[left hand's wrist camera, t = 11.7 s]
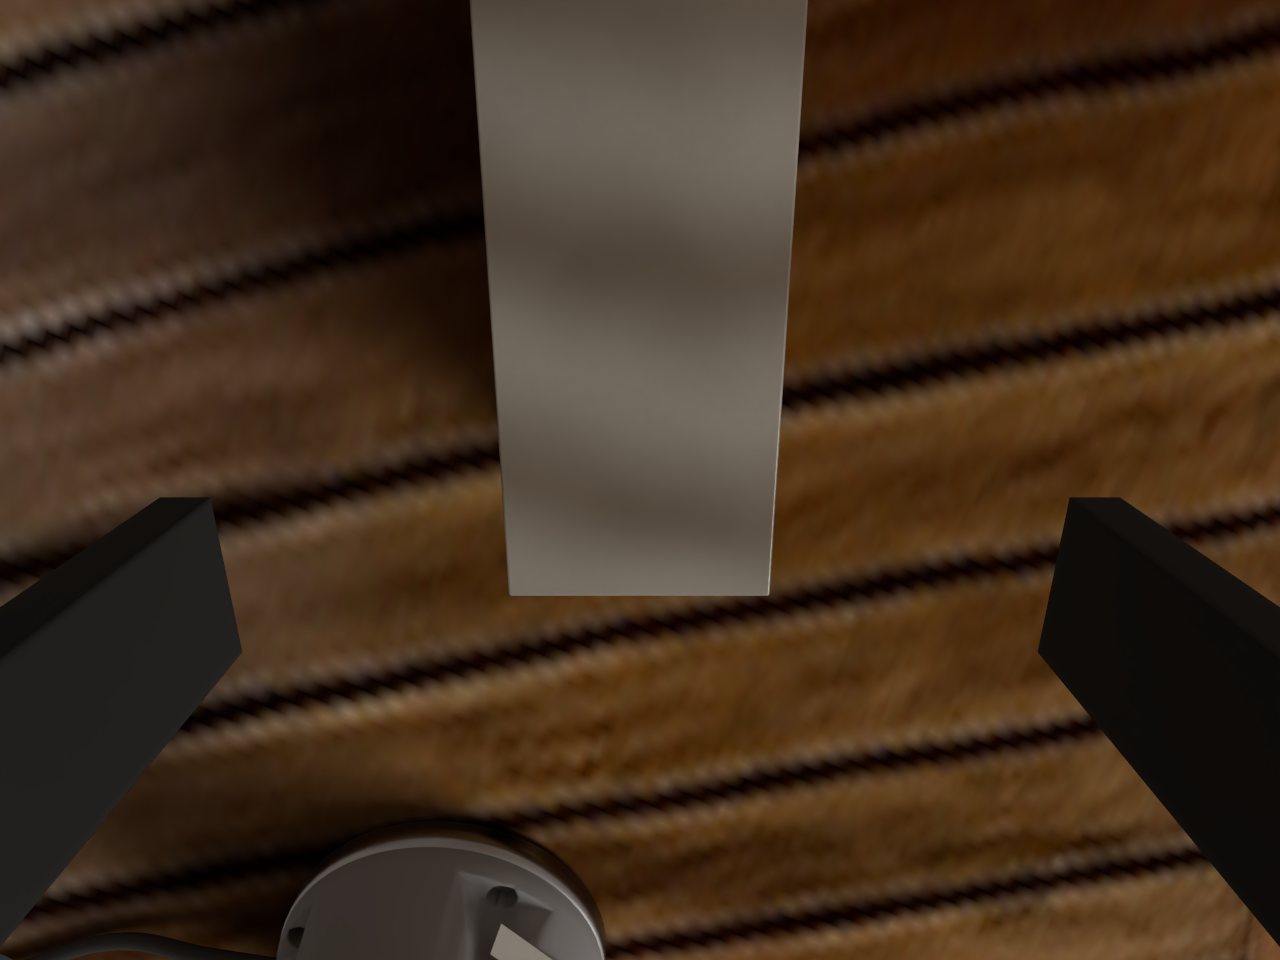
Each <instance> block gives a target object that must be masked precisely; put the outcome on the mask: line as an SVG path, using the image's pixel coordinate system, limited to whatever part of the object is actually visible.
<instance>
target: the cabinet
mask: <svg viewBox="0 0 1280 960" xmlns="http://www.w3.org/2000/svg"><path fill="white" fill-rule="evenodd" d="M807 7H808V0H470V15H471V30H472V45H473V61H474V76H475V91H476V106H477V121H478V136H479V151H480V166H481V181H482V196H483V211H484V227H485V242H486V257H487V272H488V287H489V302H490V317H491V332H492V347H493V362H494V377H495V393H496V408H497V423H498V438H499V453H500V468H501V483H502V498H503V513H504V528H505V543H506V559H507V574H508V589H509V595H511V596H767V595H769V593H770V578H771V563H772V547H773V532H774V517H775V501H776V486H777V470H778V455H779V439H780V424H781V409H782V393H783V378H784V362H785V347H786V331H787V316H788V300H789V285H790V270H791V254H792V239H793V223H794V208H795V192H796V177H797V162H798V146H799V131H800V115H801V100H802V84H803V69H804V54H805V38H806V23H807Z"/></svg>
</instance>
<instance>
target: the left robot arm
mask: <svg viewBox="0 0 1280 960" xmlns="http://www.w3.org/2000/svg"><path fill="white" fill-rule="evenodd" d="M241 653H242V649H241V644H240V639H239V634H238V629H237V624H236V620H235V615H234V610H233V605H232V600H231V595H230V591H229V586H228V581H227V576H226V571H225V566H224V562H223V557H222V552H221V547H220V542H219V537H218V533H217V528H216V523H215V518H214V513H213V508H212V504H211V499H210V498H159V499H157V500H156V501H154V502H153V503H151V504H150V505H148V506H147V507H146V508H144V509H143V510H141V511H140V512H138V513H137V514H135V515H134V516H132V517H131V518H130V519H128V520H127V521H125V522H124V523H122V524H121V525H119V526H118V527H116V528H115V529H114V530H112V531H111V532H109V533H108V534H106V535H105V536H103V537H102V538H100V539H99V540H98V541H96V542H95V543H93V544H92V545H90V546H89V547H87V548H86V549H84V550H83V551H82V552H80V553H79V554H77V555H76V556H74V557H73V558H71V559H70V560H68V561H67V562H66V563H64V564H63V565H61V566H60V567H58V568H57V569H55V570H54V571H52V572H51V573H49V574H48V575H47V576H45V577H44V578H42V579H41V580H39V581H38V582H36V583H35V584H33V585H32V586H31V587H29V588H28V589H26V590H25V591H23V592H22V593H20V594H19V595H17V596H16V597H15V598H13V599H12V600H10V601H9V602H7V603H6V604H4V605H3V606H1V607H0V946H1V945H2V944H3V943H4V942H5V940H6V939H7V938H8V937H9V935H10V934H11V933H12V932H13V931H14V929H15V928H16V927H17V926H18V925H19V923H20V922H21V921H22V920H23V918H24V917H25V916H26V915H27V914H28V912H29V911H30V910H31V909H32V907H33V906H34V905H35V904H36V903H37V901H38V900H39V899H40V898H41V897H42V895H43V894H44V893H45V892H46V890H47V889H48V888H49V887H50V886H51V884H52V883H53V882H54V881H55V879H56V878H57V877H58V876H59V875H60V873H61V872H62V871H63V870H64V869H65V867H66V866H67V865H68V864H69V862H70V861H71V860H72V859H73V858H74V856H75V855H76V854H77V853H78V851H79V850H80V849H81V848H82V847H83V845H84V844H85V843H86V842H87V841H88V839H89V838H90V837H91V836H92V834H93V833H94V832H95V831H96V830H97V828H98V827H99V826H100V825H101V823H102V822H103V821H104V820H105V819H106V817H107V816H108V815H109V814H110V812H111V811H112V810H113V809H114V808H115V806H116V805H117V804H118V803H119V802H120V800H121V799H122V798H123V797H124V795H125V794H126V793H127V792H128V791H129V789H130V788H131V787H132V786H133V784H134V783H135V782H136V781H137V780H138V778H139V777H140V776H141V775H142V774H143V772H144V771H145V770H146V769H147V767H148V766H149V765H150V764H151V763H152V761H153V760H154V759H155V758H156V756H157V755H158V754H159V753H160V752H161V750H162V749H163V748H164V747H165V746H166V744H167V743H168V742H169V741H170V739H171V738H172V737H173V736H174V735H175V733H176V732H177V731H178V730H179V728H180V727H181V726H182V725H183V724H184V722H185V721H186V720H187V719H188V718H189V716H190V715H191V714H192V713H193V711H194V710H195V709H196V708H197V707H198V705H199V704H200V703H201V702H202V700H203V699H204V698H205V697H206V696H207V694H208V693H209V692H210V691H211V690H212V688H213V687H214V686H215V685H216V683H217V682H218V681H219V680H220V679H221V677H222V676H223V675H224V674H225V672H226V671H227V670H228V669H229V668H230V666H231V665H232V664H233V663H234V662H235V660H236V659H237V658H238V657H239V655H240V654H241ZM1038 653H1039V654H1040V655H1041V657H1042V658H1043V659H1044V660H1045V662H1046V663H1047V664H1048V665H1049V666H1050V668H1051V669H1052V670H1053V671H1054V672H1055V674H1056V675H1057V676H1058V677H1059V679H1060V680H1061V681H1062V682H1063V683H1064V685H1065V686H1066V687H1067V688H1068V690H1069V691H1070V692H1071V693H1072V694H1073V696H1074V697H1075V698H1076V699H1077V700H1078V702H1079V703H1080V704H1081V705H1082V707H1083V708H1084V709H1085V710H1086V711H1087V713H1088V714H1089V715H1090V716H1091V718H1092V719H1093V720H1094V721H1095V722H1096V724H1097V725H1098V726H1099V727H1100V728H1101V730H1102V731H1103V732H1104V733H1105V735H1106V736H1107V737H1108V738H1109V739H1110V741H1111V742H1112V743H1113V744H1114V746H1115V747H1116V748H1117V749H1118V750H1119V752H1120V753H1121V754H1122V755H1123V756H1124V758H1125V759H1126V760H1127V761H1128V763H1129V764H1130V765H1131V766H1132V767H1133V769H1134V770H1135V771H1136V772H1137V774H1138V775H1139V776H1140V777H1141V778H1142V780H1143V781H1144V782H1145V783H1146V784H1147V786H1148V787H1149V788H1150V789H1151V791H1152V792H1153V793H1154V794H1155V795H1156V797H1157V798H1158V799H1159V800H1160V802H1161V803H1162V804H1163V805H1164V806H1165V808H1166V809H1167V810H1168V811H1169V813H1170V814H1171V815H1172V816H1173V817H1174V819H1175V820H1176V821H1177V822H1178V823H1179V825H1180V826H1181V827H1182V828H1183V830H1184V831H1185V832H1186V833H1187V834H1188V836H1189V837H1190V838H1191V839H1192V841H1193V842H1194V843H1195V844H1196V845H1197V847H1198V848H1199V849H1200V850H1201V851H1202V853H1203V854H1204V855H1205V856H1206V858H1207V859H1208V860H1209V861H1210V862H1211V864H1212V865H1213V866H1214V867H1215V869H1216V870H1217V871H1218V872H1219V873H1220V875H1221V876H1222V877H1223V878H1224V879H1225V881H1226V882H1227V883H1228V884H1229V886H1230V887H1231V888H1232V889H1233V890H1234V892H1235V893H1236V894H1237V895H1238V897H1239V898H1240V899H1241V900H1242V901H1243V903H1244V904H1245V905H1246V906H1247V907H1248V909H1249V910H1250V911H1251V912H1252V914H1253V915H1254V916H1255V917H1256V918H1257V920H1258V921H1259V922H1260V923H1261V925H1262V926H1263V927H1264V928H1265V929H1266V931H1267V932H1268V933H1269V934H1270V935H1271V937H1272V938H1273V939H1274V940H1275V942H1276V943H1277V944H1278V945H1279V946H1280V607H1279V606H1277V605H1276V604H1274V603H1273V602H1271V601H1270V600H1268V599H1267V598H1265V597H1264V596H1263V595H1261V594H1260V593H1258V592H1257V591H1255V590H1254V589H1252V588H1251V587H1249V586H1248V585H1247V584H1245V583H1244V582H1242V581H1241V580H1239V579H1238V578H1236V577H1235V576H1233V575H1232V574H1231V573H1229V572H1228V571H1226V570H1225V569H1223V568H1222V567H1220V566H1219V565H1217V564H1216V563H1214V562H1213V561H1212V560H1210V559H1209V558H1207V557H1206V556H1204V555H1203V554H1201V553H1200V552H1198V551H1197V550H1196V549H1194V548H1193V547H1191V546H1190V545H1188V544H1187V543H1185V542H1184V541H1182V540H1181V539H1180V538H1178V537H1177V536H1175V535H1174V534H1172V533H1171V532H1169V531H1168V530H1166V529H1165V528H1164V527H1162V526H1161V525H1159V524H1158V523H1156V522H1155V521H1153V520H1152V519H1150V518H1149V517H1148V516H1146V515H1145V514H1143V513H1142V512H1140V511H1139V510H1137V509H1136V508H1134V507H1133V506H1132V505H1130V504H1129V503H1127V502H1126V501H1124V500H1123V499H1121V498H1070V499H1069V504H1068V508H1067V513H1066V518H1065V523H1064V528H1063V533H1062V537H1061V542H1060V547H1059V552H1058V557H1057V562H1056V566H1055V571H1054V576H1053V581H1052V586H1051V591H1050V595H1049V600H1048V605H1047V610H1046V615H1045V620H1044V624H1043V629H1042V634H1041V639H1040V644H1039V649H1038ZM114 950H131V951H141V952H146V953H151V954H156V955H160V956H163V957H167V958H171V959H175V960H605V958H606V935H605V929H604V924H603V921H602V917H601V914H600V912H599V909H598V907H597V905H596V903H595V901H594V899H593V898H592V896H591V894H590V893H589V891H588V890H587V888H586V887H585V886H584V885H583V883H582V882H581V881H580V880H579V878H578V877H577V876H576V875H575V874H574V873H573V872H572V871H571V870H570V869H569V868H567V867H566V866H565V865H564V864H563V863H562V862H560V861H559V860H558V859H556V858H555V857H554V856H552V855H551V854H549V853H548V852H546V851H545V850H543V849H541V848H539V847H538V846H536V845H534V844H532V843H530V842H528V841H526V840H524V839H522V838H520V837H517V836H514V835H512V834H509V833H507V832H504V831H500V830H497V829H493V828H490V827H486V826H481V825H476V824H471V823H463V822H455V821H418V822H408V823H402V824H396V825H391V826H387V827H383V828H380V829H376V830H373V831H371V832H368V833H365V834H362V835H360V836H358V837H356V838H354V839H352V840H350V841H348V842H346V843H345V844H343V845H341V846H340V847H338V848H336V849H335V850H334V851H332V852H331V853H330V854H328V855H327V856H326V857H325V858H324V859H323V860H322V861H321V862H319V863H318V864H317V866H316V867H315V868H314V869H313V870H312V871H311V873H310V874H309V875H308V877H307V878H306V880H305V881H304V883H303V885H302V887H301V889H300V891H299V893H298V895H297V897H296V899H295V901H294V904H293V906H292V908H291V910H290V912H289V914H288V916H287V918H286V921H285V923H284V927H283V930H282V933H281V939H280V942H279V946H278V951H277V958H274V957H268V956H261V955H255V954H248V953H241V952H235V951H229V950H222V949H216V948H210V947H204V946H199V945H194V944H190V943H186V942H182V941H178V940H175V939H171V938H167V937H163V936H158V935H153V934H147V933H135V932H123V933H110V934H104V935H98V936H93V937H89V938H85V939H81V940H78V941H75V942H71V943H68V944H66V945H63V946H60V947H57V948H55V949H52V950H50V951H47V952H45V953H42V954H40V955H37V956H34V957H32V958H29V959H26V960H70V959H73V958H76V957H80V956H83V955H87V954H91V953H96V952H103V951H114ZM0 960H13V959H11V958H8V957H6V956H4V955H2V954H0Z"/></svg>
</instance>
